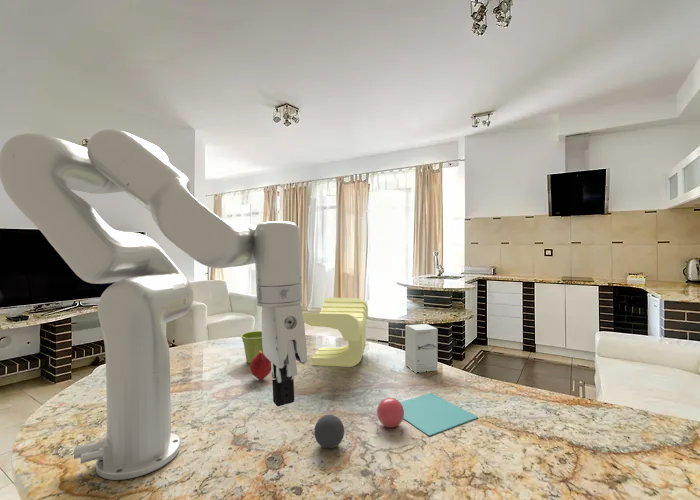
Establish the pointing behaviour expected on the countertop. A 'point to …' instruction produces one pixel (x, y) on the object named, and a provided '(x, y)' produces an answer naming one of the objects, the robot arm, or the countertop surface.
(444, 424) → the teal mark
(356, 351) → the slatted curved stool
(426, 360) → the supplement box
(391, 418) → the red ball
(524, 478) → the countertop surface
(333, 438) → the dark gray ball
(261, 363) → the onion
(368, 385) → the countertop surface
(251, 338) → the plant pot
